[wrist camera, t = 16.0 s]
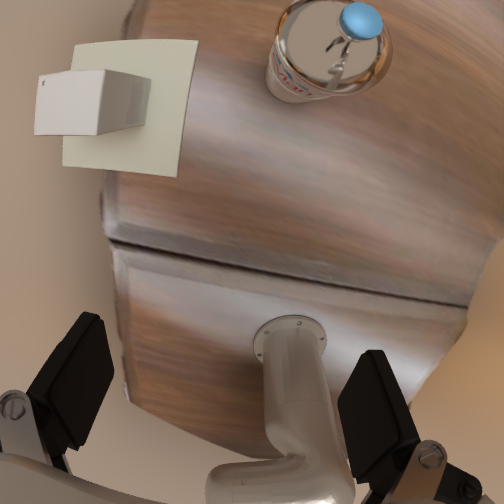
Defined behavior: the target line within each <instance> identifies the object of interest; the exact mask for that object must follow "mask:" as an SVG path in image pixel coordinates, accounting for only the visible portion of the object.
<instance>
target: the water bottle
mask: <svg viewBox="0 0 504 504" xmlns="http://www.w3.org/2000/svg"><path fill="white" fill-rule="evenodd" d="M392 56H393V45H392V39H391V36H390V33H389V30H388V28H387V26H386V24H385V22H384V21H383V19H382V18H381V16H380V15H379V13H378V12H377V11H376V10H375V9H374V8H373V7H371V6H370V5H368V4H367V3H365V2H364V1H362V0H293V1H292V2H291V3H290V4H289V5H288V6H287V7H286V8H285V9H284V10H283V12H282V13H281V15H280V17H279V19H278V22H277V26H276V30H275V40H274V42H273V44H272V46H271V49H270V53H269V57H268V60H267V64H266V68H265V82H266V85H267V87H268V89H269V90H270V92H271V93H272V94H273V95H274V96H275V97H277V98H278V99H280V100H282V101H284V102H288V103H304V102H309V101H315V100H320V99H325V98H329V97H331V96H347V95H354V94H358V93H361V92H364V91H366V90H368V89H370V88H372V87H374V86H375V85H376V84H378V83H379V82H380V81H381V80H382V79H383V78H384V76H385V75H386V73H387V72H388V70H389V67H390V65H391V62H392Z"/></svg>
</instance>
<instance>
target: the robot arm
mask: <svg viewBox="0 0 504 504" xmlns="http://www.w3.org/2000/svg"><path fill="white" fill-rule="evenodd" d="M326 345H327V338H326V334H325V331H324V329H323V328H322V326H321V325H320V324H319V323H317V322H316V321H314V320H312V319H310V318H307V317H303V316H285V317H281V318H277V319H274V320H272V321H270V322H268V323H267V324H265V325H264V326H263V327H262V328H261V329H260V330H259V331H258V332H257V334H256V336H255V338H254V344H253V346H254V353H255V355H256V357H257V359H258V360H259V361H260V362H261V363H263V383H264V423H265V432H266V435H267V437H268V439H269V441H270V442H271V444H272V445H273V446H274V447H275V448H276V449H277V450H279V451H280V452H281V453H282V454H283V455H285V457H283V458H278V459H273V460H266V461H256V462H241V463H228V464H222V465H219V466H217V467H215V468H214V469H212V470H211V471H210V473H209V475H208V477H207V480H206V485H205V496H206V504H352V503H353V501H354V498H355V483H354V479H353V478H356V480H357V484H361V483H368V482H369V486H370V490H369V492H368V493H367V495H366V496H365V498H364V500H363V501H362V502H361V504H495V503H494V502H493V501H492V500H491V499H490V498H489V497H488V496H487V495H486V494H485V495H483V496H482V486H481V483H480V482H479V480H478V479H477V478H476V477H474V476H472V475H470V474H468V473H466V472H464V471H462V470H461V469H459V468H457V467H455V466H453V465H451V464H449V463H448V462H447V453H446V451H445V449H444V447H443V446H442V445H441V444H439V443H438V442H437V441H433V440H424V441H422V442H421V440H420V438H419V435H418V432H417V430H416V427H415V424H414V422H413V419H412V417H411V414H410V411H409V409H408V406H407V404H406V401H405V399H404V396H403V394H402V392H401V389H400V387H399V385H398V383H397V380H396V378H395V376H394V373H393V371H392V369H391V366H390V364H389V362H388V360H387V357H386V355H385V353H384V351H383V350H367V351H366V352H365V353H363V354H362V355H361V356H360V358H359V360H358V362H357V364H356V366H355V368H354V370H353V372H352V374H351V376H350V378H349V379H348V381H347V383H346V385H345V387H344V389H343V390H342V392H341V394H340V396H339V398H338V410H339V414H340V419H341V424H342V428H343V433H344V438H345V443H346V448H347V453H348V458H349V463H350V468H351V471H350V468H349V465H348V463H347V460H346V457H345V455H344V452H343V449H342V446H341V443H340V439H339V435H338V431H337V427H336V422H335V417H334V413H333V408H332V403H331V398H330V393H329V388H328V384H327V379H326V375H325V370H324V366H323V361H322V357H321V355H322V354H323V352H324V350H325V348H326ZM113 376H114V366H113V362H112V358H111V354H110V350H109V345H108V340H107V335H106V330H105V326H104V321H103V320H102V319H100V316H99V315H97V314H93V313H89V312H83V313H82V314H81V315H80V316H79V318H78V319H77V321H76V322H75V323H74V325H73V326H72V327H71V329H70V330H69V332H68V333H67V335H66V336H65V337H64V339H63V340H62V341H61V342H60V343H59V344H58V345H57V346H56V348H55V349H54V350H53V352H52V353H51V355H50V356H49V358H48V360H47V361H46V362H45V364H44V365H43V367H42V368H41V370H40V371H39V373H38V374H37V376H36V378H35V379H34V381H33V382H32V384H31V385H30V387H29V389H28V390H27V392H26V394H25V393H24V392H22V391H19V390H9V391H7V392H5V393H3V394H2V395H1V396H0V504H165V503H161V502H157V501H152V500H148V499H144V498H140V497H136V496H133V495H129V494H125V493H122V492H118V491H116V490H113V489H109V488H106V487H103V486H100V485H98V484H95V483H92V482H89V481H86V480H84V479H81V478H78V477H76V476H73V474H72V472H71V469H70V467H69V464H68V462H67V459H66V457H65V452H66V450H67V447H69V448H71V449H74V450H76V451H78V449H79V447H80V446H83V445H84V444H85V442H86V440H87V437H88V435H89V432H90V430H91V427H92V425H93V423H94V420H95V418H96V415H97V413H98V411H99V408H100V406H101V404H102V401H103V399H104V397H105V395H106V392H107V390H108V388H109V386H110V383H111V381H112V379H113Z"/></svg>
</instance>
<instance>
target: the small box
mask: <svg viewBox="0 0 504 504" xmlns="http://www.w3.org/2000/svg"><path fill="white" fill-rule="evenodd" d="M150 85H151V79H150V78H145V77H141V76H136V75H132V74H128V73H123V72H118V71H113V70H108V69H88V70H74V71H63V72H59V73H53V74H47V75H42V76H39V83H38V90H37V98H36V99H37V100H36V110H35V128H34V129H35V130H34V135H35V136H98V135H101V134H106V133H110V132H114V131H118V130H123V129H127V128H132V127H138V126H143V125H145V119H146V112H147V104H148V98H149V91H150Z"/></svg>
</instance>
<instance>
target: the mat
mask: <svg viewBox="0 0 504 504" xmlns="http://www.w3.org/2000/svg"><path fill="white" fill-rule="evenodd" d="M198 45H199V41H195V40H172V39H144V40H121V41H108V42H97V43H89V44H82V45H75V49H74V54H73V60H72V65H71V71H74V70H88V69H108V70H113V71H118V72H123V73H128V74H132V75H136V76H141V77H145V78H150V79H151V85H150V91H149V98H148V104H147V112H146V119H145V125H143V126H138V127H132V128H127V129H123V130H118V131H114V132H110V133H106V134H101V135H98V136H64V137H63V166H72V167H85V168H97V169H108V170H118V171H128V172H137V173H146V174H154V175H162V176H170V177H177V175H178V167H179V158H180V150H181V143H182V136H183V129H184V122H185V115H186V109H187V103H188V97H189V91H190V86H191V80H192V75H193V70H194V64H195V59H196V55H197V50H198Z"/></svg>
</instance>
